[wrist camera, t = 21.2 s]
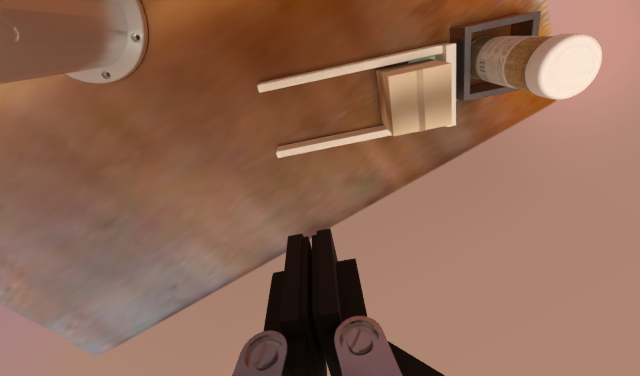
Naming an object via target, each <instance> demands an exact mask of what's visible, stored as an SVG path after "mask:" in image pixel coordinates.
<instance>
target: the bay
mask: <svg viewBox="0 0 640 376" xmlns="http://www.w3.org/2000/svg"><path fill="white" fill-rule="evenodd" d="M433 55H436V59H435V56H433ZM428 56H430V57H428ZM423 57H425V58H423ZM419 58H421V59H419ZM414 59H416V60H414ZM426 59H433V60H438V61H443V62H448V63H452V125H448V126H446V127H450V126H455V125H456V43H441V44H436V45H431V46H427V47H422V48H418V49H413V50H408V51H404V52H399V53H395V54H390V55H385V56H381V57H376V58H372V59H367V60H363V61H358V62H353V63H349V64H344V65H340V66H335V67H330V68H326V69H321V70H317V71H312V72H307V73H303V74H298V75H294V76H289V77H284V78H280V79H275V80H271V81H266V82H262V83H259V84H258V85H257V87H258V90H259V93H261V92H266V91H270V90H275V89H280V88H284V87H289V86H294V85H298V84H303V83H307V82H312V81H317V80H321V79H326V78H331V77H335V76H340V75H345V74H349V73H354V72H358V71H363V70H368V69H372V68H377V67H382V66H386V65H391V64H396V63H400V62H405V61H408V63H412V62H417V61H421V60H426ZM409 60H411V61H409ZM390 135H392V134H391V132H390V131H389V130H388V129H387V128H386V126H385V125H381V126H376V127H371V128H366V129H361V130H356V131H351V132H346V133H342V134H337V135H332V136H327V137H322V138H317V139H312V140H307V141H302V142H297V143H292V144H287V145H283V146H278V147H277V150H276V154H277V157H278V158H281V157H286V156H291V155H296V154H300V153H305V152H310V151H315V150H320V149H325V148H330V147H335V146H340V145H345V144H350V143H355V142H360V141H365V140H370V139H375V138H380V137H385V136H390Z"/></svg>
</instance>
